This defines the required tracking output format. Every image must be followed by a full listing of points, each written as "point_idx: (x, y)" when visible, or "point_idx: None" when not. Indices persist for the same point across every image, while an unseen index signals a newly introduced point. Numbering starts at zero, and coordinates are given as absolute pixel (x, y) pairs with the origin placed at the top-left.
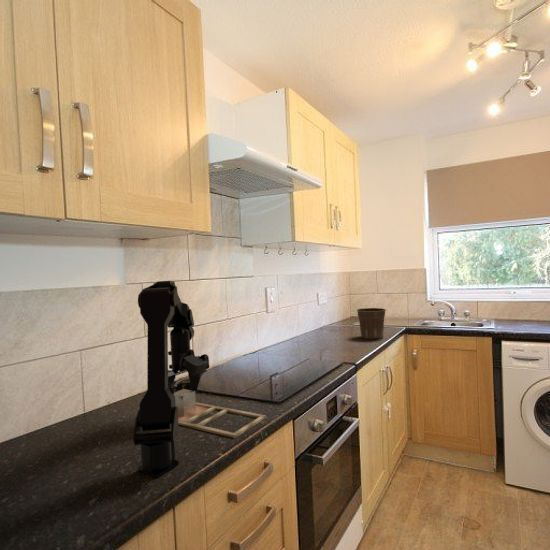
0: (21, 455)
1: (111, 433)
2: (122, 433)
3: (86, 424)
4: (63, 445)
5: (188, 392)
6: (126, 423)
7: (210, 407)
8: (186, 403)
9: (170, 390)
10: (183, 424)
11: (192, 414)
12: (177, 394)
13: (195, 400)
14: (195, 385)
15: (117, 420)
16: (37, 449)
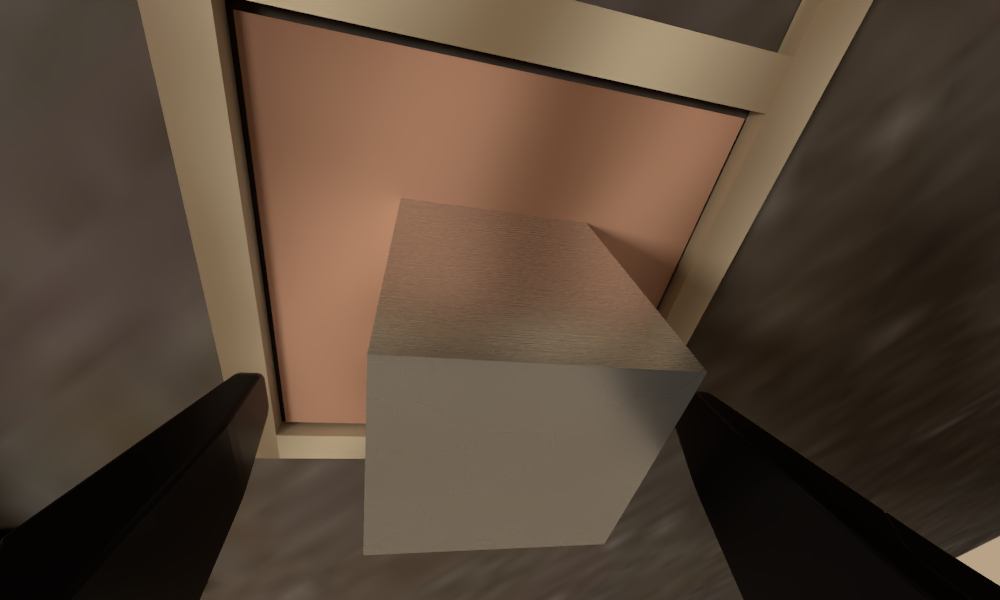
0: (959, 540)
1: (839, 454)
2: (854, 413)
3: (712, 578)
4: (919, 507)
5: (492, 410)
6: None
7: (224, 43)
8: (585, 280)
9: (995, 585)
10: (824, 71)
11: (521, 164)
12: (622, 481)
13: (392, 253)
14: (170, 507)
15: (669, 531)
16: None
